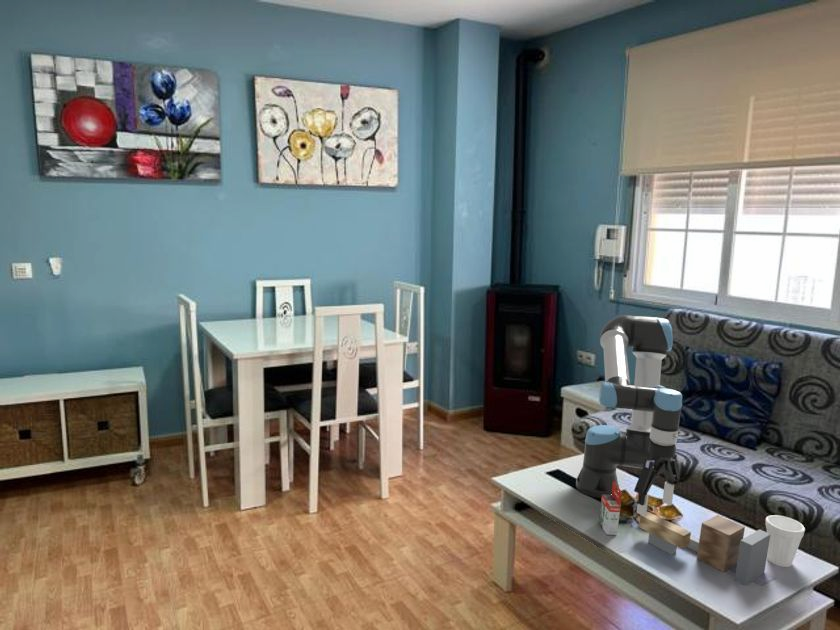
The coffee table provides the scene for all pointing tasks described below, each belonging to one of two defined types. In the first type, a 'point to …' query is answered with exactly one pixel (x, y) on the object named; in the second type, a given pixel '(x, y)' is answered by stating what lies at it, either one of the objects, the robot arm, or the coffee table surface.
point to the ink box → (610, 511)
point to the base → (747, 555)
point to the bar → (665, 530)
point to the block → (720, 542)
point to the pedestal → (662, 544)
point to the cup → (783, 539)
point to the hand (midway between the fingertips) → (654, 508)
